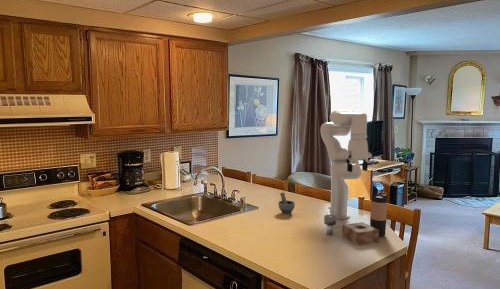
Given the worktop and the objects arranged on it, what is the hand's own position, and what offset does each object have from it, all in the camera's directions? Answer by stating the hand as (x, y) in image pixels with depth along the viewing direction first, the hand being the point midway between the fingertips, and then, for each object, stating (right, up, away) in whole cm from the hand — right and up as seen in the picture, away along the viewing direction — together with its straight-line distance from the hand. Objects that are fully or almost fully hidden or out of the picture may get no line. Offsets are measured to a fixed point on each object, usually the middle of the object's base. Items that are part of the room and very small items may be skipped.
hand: (357, 171), depth 184 cm
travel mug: (+10, -32, -2) cm, 34 cm away
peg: (-14, -32, -1) cm, 35 cm away
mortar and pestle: (-33, -28, +33) cm, 54 cm away
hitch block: (-1, -33, -8) cm, 34 cm away
